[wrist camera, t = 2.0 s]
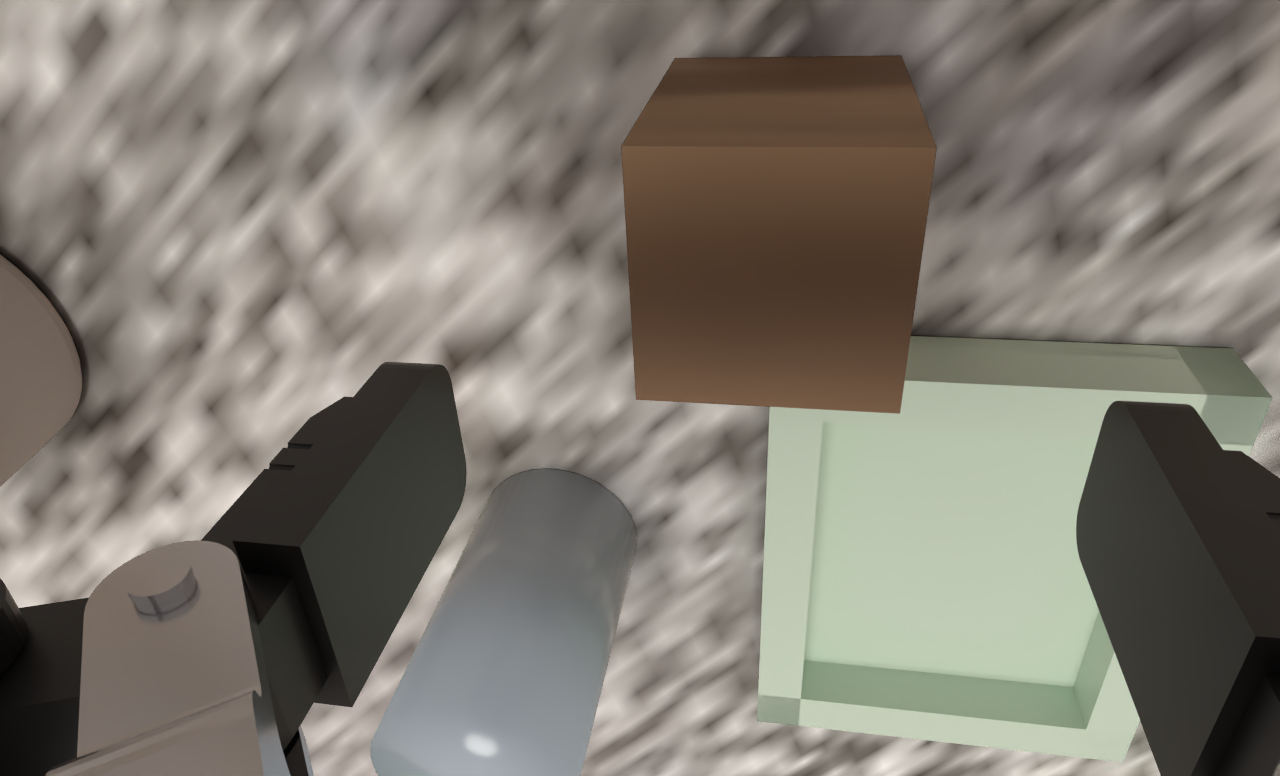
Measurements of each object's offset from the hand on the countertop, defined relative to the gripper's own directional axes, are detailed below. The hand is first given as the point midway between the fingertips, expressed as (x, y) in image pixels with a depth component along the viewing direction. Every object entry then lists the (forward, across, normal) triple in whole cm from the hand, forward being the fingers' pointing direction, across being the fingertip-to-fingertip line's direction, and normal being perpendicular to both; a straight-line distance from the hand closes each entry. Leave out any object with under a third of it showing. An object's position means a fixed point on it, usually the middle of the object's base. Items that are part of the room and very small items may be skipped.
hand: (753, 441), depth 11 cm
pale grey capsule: (+10, +6, +10) cm, 16 cm away
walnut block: (+10, 0, 0) cm, 10 cm away
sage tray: (+10, -5, +9) cm, 14 cm away
